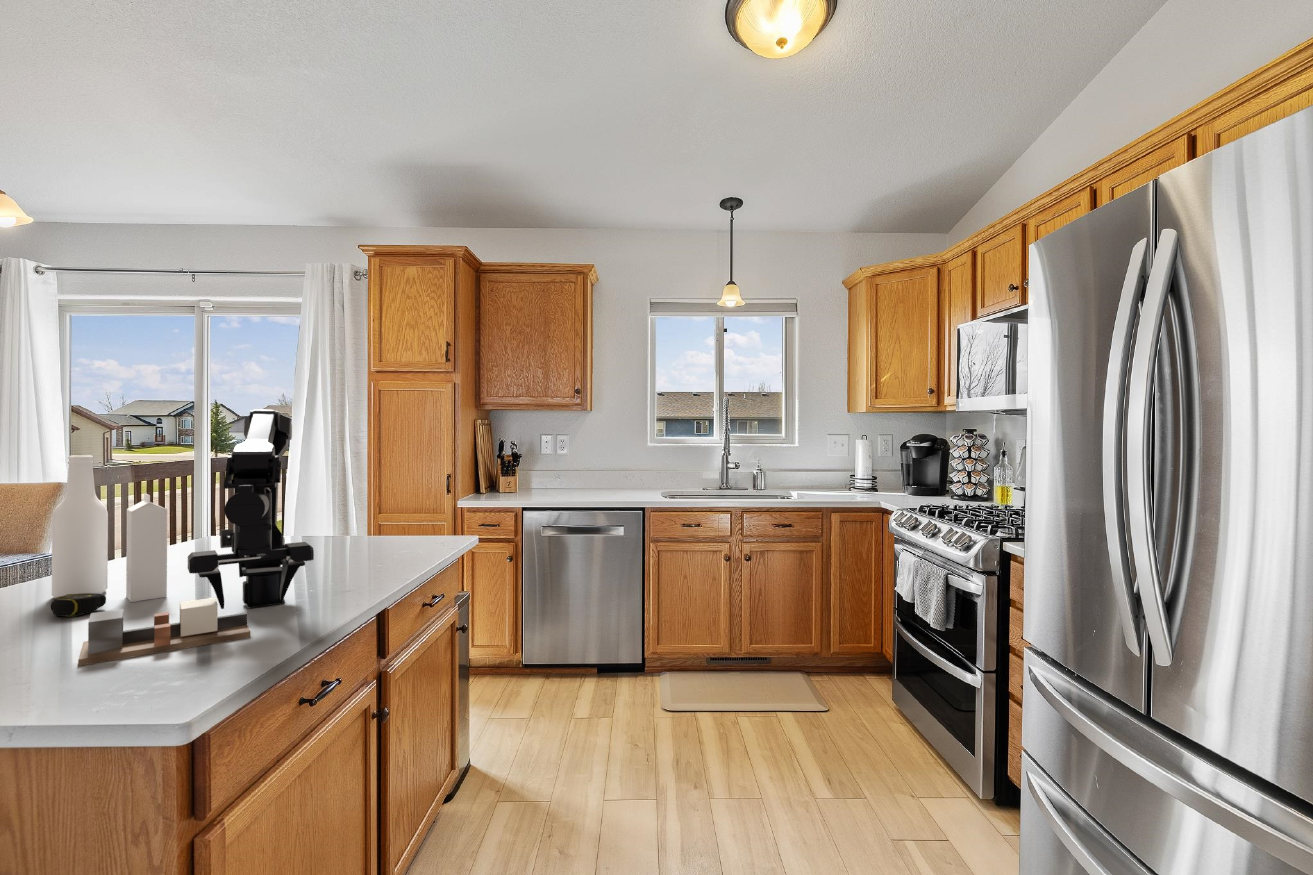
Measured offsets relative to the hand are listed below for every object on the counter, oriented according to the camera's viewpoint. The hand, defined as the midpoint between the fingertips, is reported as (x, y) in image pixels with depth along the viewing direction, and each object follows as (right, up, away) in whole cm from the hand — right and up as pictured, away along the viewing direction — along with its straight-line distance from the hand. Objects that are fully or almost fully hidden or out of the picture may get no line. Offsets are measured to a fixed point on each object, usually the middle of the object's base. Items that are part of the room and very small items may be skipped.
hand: (252, 603), depth 112 cm
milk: (-36, -4, +20) cm, 41 cm away
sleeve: (-6, -3, -5) cm, 8 cm away
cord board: (-9, -5, -8) cm, 13 cm away
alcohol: (-51, -4, +21) cm, 55 cm away
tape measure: (-39, -4, +8) cm, 41 cm away
